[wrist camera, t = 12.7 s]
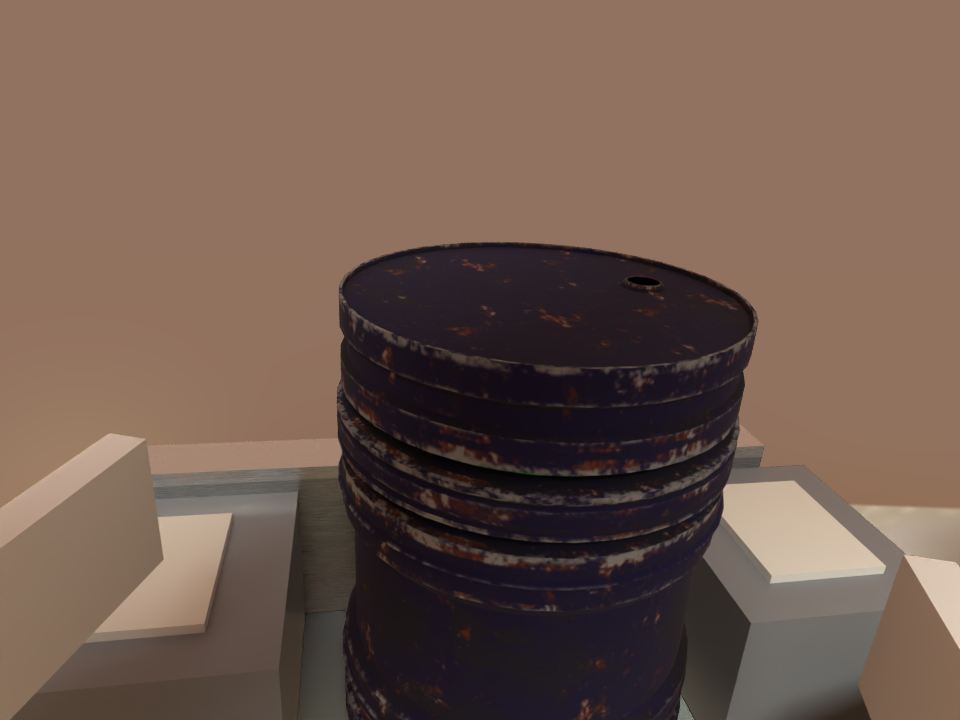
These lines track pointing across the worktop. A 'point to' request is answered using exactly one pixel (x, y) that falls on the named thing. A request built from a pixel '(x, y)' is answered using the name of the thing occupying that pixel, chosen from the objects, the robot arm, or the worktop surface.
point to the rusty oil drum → (530, 477)
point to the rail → (300, 496)
